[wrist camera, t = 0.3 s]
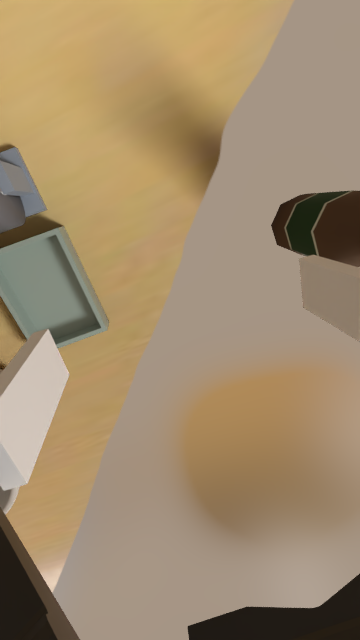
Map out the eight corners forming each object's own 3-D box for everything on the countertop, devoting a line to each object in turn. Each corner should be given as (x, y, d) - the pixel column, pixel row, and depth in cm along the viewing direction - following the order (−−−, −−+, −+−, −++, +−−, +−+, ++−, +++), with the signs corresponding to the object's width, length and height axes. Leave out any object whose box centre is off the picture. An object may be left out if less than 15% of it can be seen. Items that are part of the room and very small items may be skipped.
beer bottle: (267, 253, 43) (409, 304, 21) (271, 195, 40) (441, 181, 18) (317, 250, 44) (504, 296, 22) (325, 193, 41) (550, 179, 19)
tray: (-12, 253, 38) (-24, 257, 35) (63, 226, 38) (58, 227, 35) (43, 346, 43) (37, 355, 40) (109, 322, 43) (107, 330, 40)
